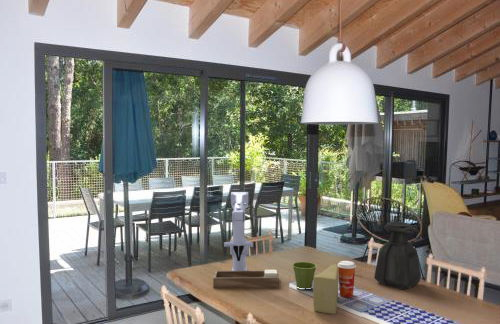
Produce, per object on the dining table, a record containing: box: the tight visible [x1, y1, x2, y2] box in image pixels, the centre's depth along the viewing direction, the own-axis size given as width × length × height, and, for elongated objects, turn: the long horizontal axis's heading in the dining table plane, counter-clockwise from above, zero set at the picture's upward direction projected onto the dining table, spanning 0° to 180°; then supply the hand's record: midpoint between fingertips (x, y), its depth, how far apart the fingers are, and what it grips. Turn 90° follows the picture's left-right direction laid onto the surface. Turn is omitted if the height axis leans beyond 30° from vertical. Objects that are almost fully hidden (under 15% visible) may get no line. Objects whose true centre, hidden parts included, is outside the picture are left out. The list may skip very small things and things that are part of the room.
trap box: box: [212, 270, 280, 288], centre depth 212 cm, size 12×32×4 cm, turn 90°
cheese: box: [312, 263, 339, 315], centre depth 185 cm, size 22×10×15 cm, turn 156°
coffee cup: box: [337, 260, 357, 298], centre depth 195 cm, size 8×8×15 cm
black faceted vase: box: [373, 221, 422, 291], centre depth 210 cm, size 18×16×30 cm
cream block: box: [263, 269, 278, 278], centre depth 212 cm, size 6×6×4 cm
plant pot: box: [292, 261, 318, 289], centre depth 205 cm, size 12×12×11 cm
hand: (238, 260), depth 215 cm, fingers closed
